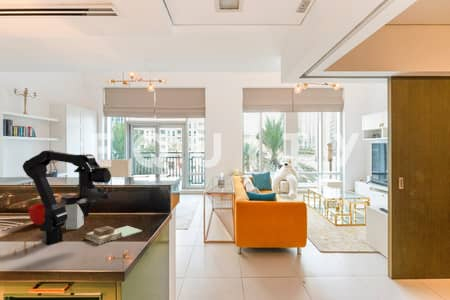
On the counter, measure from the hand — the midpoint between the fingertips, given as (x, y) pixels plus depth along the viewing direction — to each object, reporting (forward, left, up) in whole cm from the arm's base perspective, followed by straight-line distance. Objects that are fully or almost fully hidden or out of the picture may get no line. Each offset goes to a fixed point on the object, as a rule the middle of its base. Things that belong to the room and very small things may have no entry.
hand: (85, 216), depth 115 cm
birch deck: (+8, 0, -12) cm, 15 cm away
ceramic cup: (+2, +49, -12) cm, 51 cm away
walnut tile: (+8, 0, -10) cm, 13 cm away
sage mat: (+20, 0, -12) cm, 23 cm away
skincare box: (+8, +28, -12) cm, 32 cm away
